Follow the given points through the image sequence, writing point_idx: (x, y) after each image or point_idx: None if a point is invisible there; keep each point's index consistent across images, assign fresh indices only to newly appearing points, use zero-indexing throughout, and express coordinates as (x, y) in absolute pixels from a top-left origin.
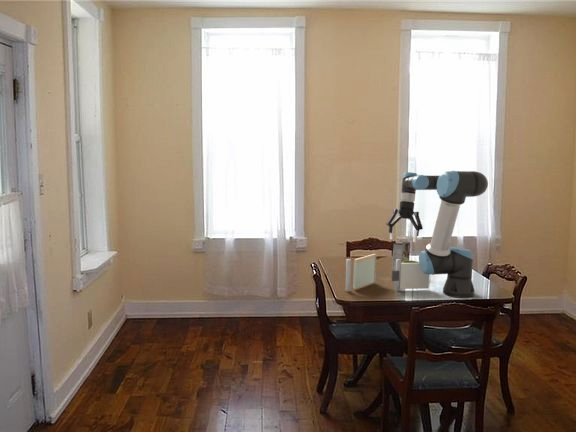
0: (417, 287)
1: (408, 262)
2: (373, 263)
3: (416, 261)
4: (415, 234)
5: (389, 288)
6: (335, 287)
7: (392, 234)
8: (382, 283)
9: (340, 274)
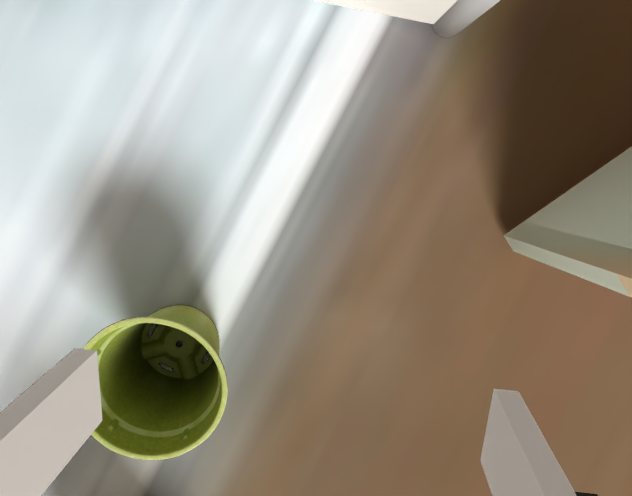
0: None
1: (146, 442)
2: (625, 232)
3: None
4: (14, 445)
5: (471, 85)
6: None
7: (543, 446)
8: (451, 223)
9: (599, 492)
